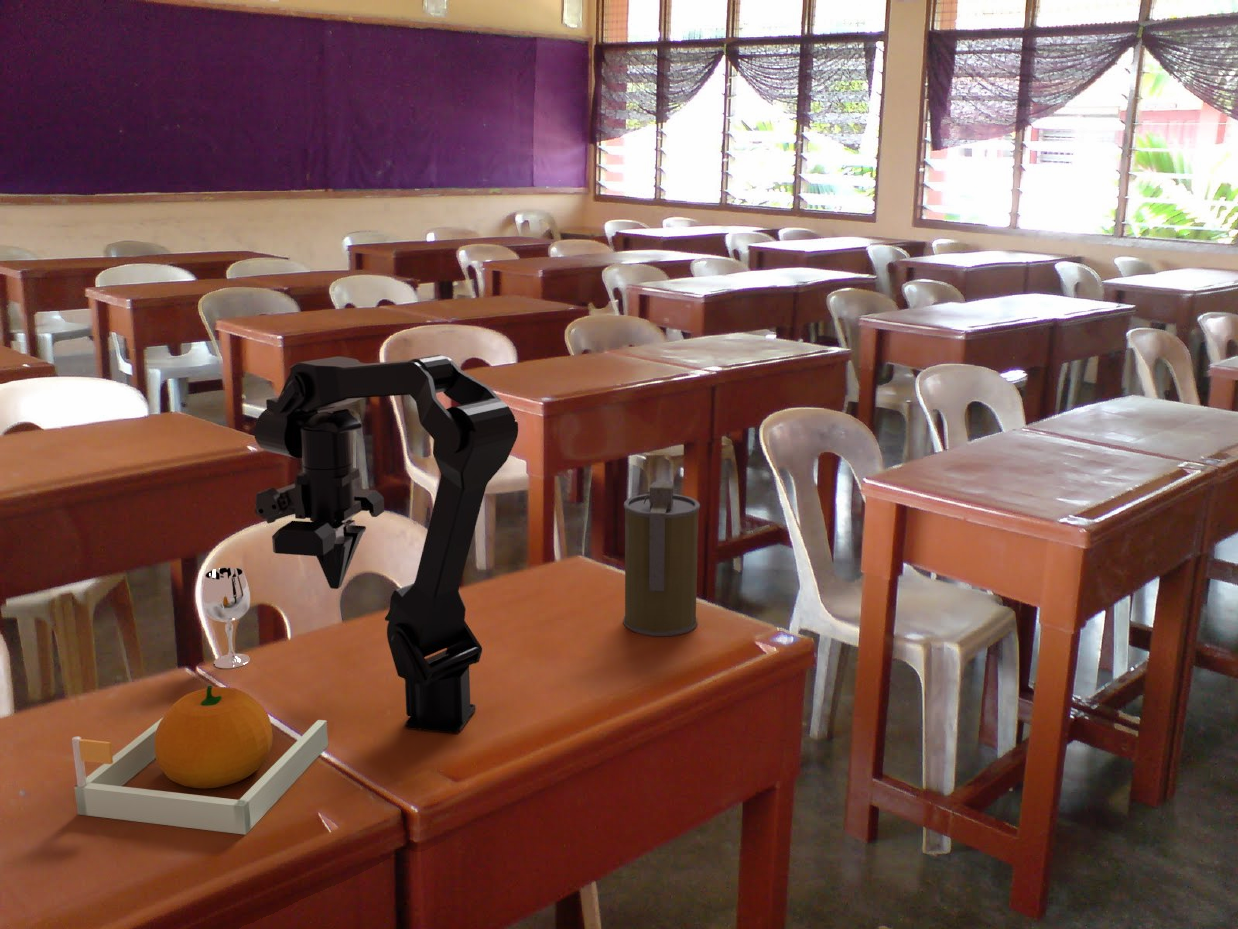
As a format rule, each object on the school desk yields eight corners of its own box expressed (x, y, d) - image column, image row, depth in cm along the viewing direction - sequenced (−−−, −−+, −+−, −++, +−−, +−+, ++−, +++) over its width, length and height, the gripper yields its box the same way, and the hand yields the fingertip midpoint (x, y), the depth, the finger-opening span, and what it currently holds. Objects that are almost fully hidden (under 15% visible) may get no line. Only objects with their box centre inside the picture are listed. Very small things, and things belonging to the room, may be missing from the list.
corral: (328, 745, 128) (323, 678, 126) (245, 834, 111) (239, 758, 109) (180, 730, 131) (173, 664, 129) (77, 814, 114) (68, 740, 112)
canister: (628, 607, 168) (629, 473, 163) (700, 610, 167) (702, 476, 162) (618, 635, 158) (618, 494, 153) (694, 640, 156) (697, 497, 151)
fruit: (296, 771, 122) (290, 683, 120) (192, 814, 114) (182, 722, 112) (239, 735, 130) (232, 652, 128) (137, 773, 122) (127, 685, 119)
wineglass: (241, 672, 146) (233, 582, 143) (199, 668, 147) (191, 579, 144) (263, 654, 152) (256, 567, 149) (223, 650, 153) (215, 564, 150)
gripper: (300, 443, 148) (308, 559, 152) (224, 480, 130) (235, 610, 134) (382, 447, 146) (388, 564, 150) (316, 485, 128) (325, 617, 132)
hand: (335, 587), depth 142 cm, fingers closed
